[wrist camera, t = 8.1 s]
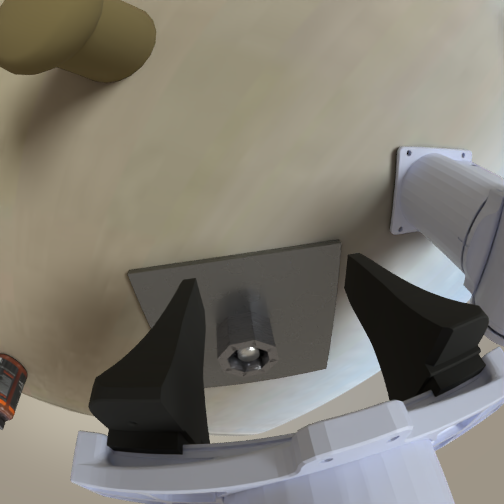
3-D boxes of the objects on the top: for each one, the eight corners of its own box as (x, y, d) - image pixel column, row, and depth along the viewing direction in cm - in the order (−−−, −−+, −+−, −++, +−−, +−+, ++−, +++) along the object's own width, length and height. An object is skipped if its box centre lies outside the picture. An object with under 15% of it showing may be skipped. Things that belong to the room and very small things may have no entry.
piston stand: (338, 239, 24) (353, 260, 21) (324, 364, 33) (332, 385, 30) (129, 270, 23) (119, 293, 20) (182, 385, 32) (182, 406, 30)
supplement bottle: (-7, 347, 27) (-32, 404, 17) (21, 358, 28) (-3, 420, 19) (6, 370, 30) (-14, 424, 20) (33, 380, 31) (14, 438, 22)
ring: (266, 307, 26) (273, 335, 23) (275, 342, 29) (281, 369, 26) (211, 319, 26) (212, 348, 23) (226, 352, 29) (228, 379, 26)
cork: (130, 93, 16) (41, 103, 6) (64, 70, 14) (-44, 76, 4) (172, 18, 13) (127, -51, 4) (102, -1, 11) (18, -51, 2)
